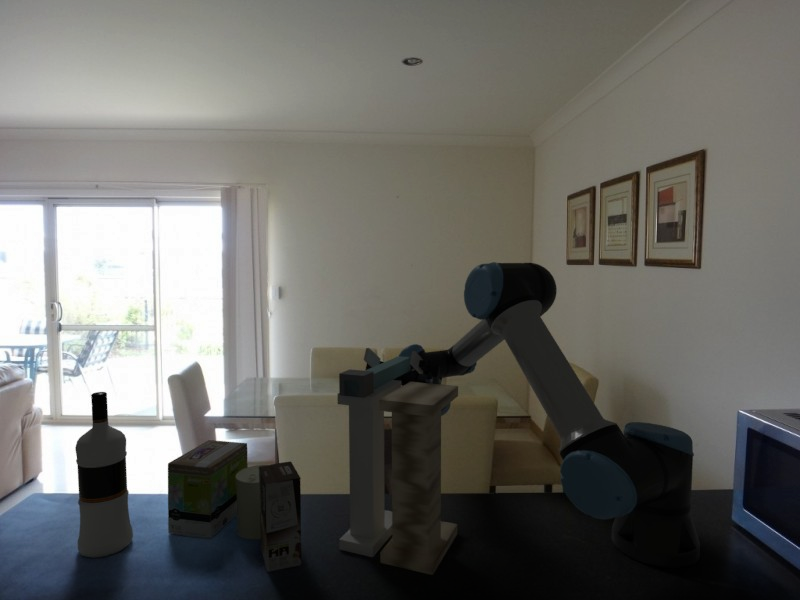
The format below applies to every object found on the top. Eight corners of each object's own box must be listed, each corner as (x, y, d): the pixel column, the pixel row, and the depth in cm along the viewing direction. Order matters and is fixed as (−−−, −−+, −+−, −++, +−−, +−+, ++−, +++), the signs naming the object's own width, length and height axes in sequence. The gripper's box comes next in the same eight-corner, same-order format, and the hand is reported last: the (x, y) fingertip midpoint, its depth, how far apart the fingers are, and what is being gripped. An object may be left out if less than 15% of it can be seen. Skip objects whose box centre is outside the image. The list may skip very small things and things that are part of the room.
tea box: (212, 540, 104) (210, 466, 102) (167, 535, 106) (164, 463, 104) (249, 505, 118) (248, 441, 117) (208, 501, 120) (207, 438, 119)
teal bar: (414, 370, 118) (414, 353, 117) (363, 397, 95) (363, 375, 94) (394, 369, 119) (394, 351, 119) (339, 395, 97) (339, 373, 96)
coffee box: (303, 565, 95) (301, 478, 94) (266, 573, 92) (264, 483, 91) (293, 540, 103) (292, 460, 102) (259, 547, 101) (257, 464, 100)
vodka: (73, 564, 95) (65, 401, 93) (82, 539, 104) (75, 389, 102) (131, 553, 99) (124, 395, 97) (135, 530, 107) (128, 384, 105)
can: (227, 536, 105) (226, 478, 104) (251, 515, 114) (249, 460, 113) (270, 542, 103) (268, 482, 102) (290, 519, 112) (289, 464, 111)
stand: (401, 522, 110) (401, 380, 108) (372, 557, 97) (371, 397, 95) (371, 516, 113) (370, 377, 111) (339, 549, 100) (337, 393, 98)
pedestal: (457, 533, 106) (458, 385, 103) (432, 575, 92) (432, 405, 90) (410, 524, 109) (410, 381, 107) (380, 562, 96) (379, 399, 93)
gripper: (463, 407, 123) (437, 377, 105) (376, 398, 132) (337, 368, 113) (468, 376, 126) (443, 341, 108) (382, 369, 135) (345, 336, 116)
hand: (389, 355), depth 111 cm, fingers open, 10 cm apart
